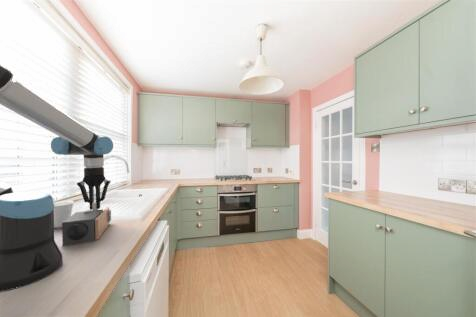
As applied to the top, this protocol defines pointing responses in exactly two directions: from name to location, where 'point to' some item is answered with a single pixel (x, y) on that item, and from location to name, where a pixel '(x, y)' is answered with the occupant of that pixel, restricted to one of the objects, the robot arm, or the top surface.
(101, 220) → the door
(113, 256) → the top surface
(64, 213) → the cup
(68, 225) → the camera housing
